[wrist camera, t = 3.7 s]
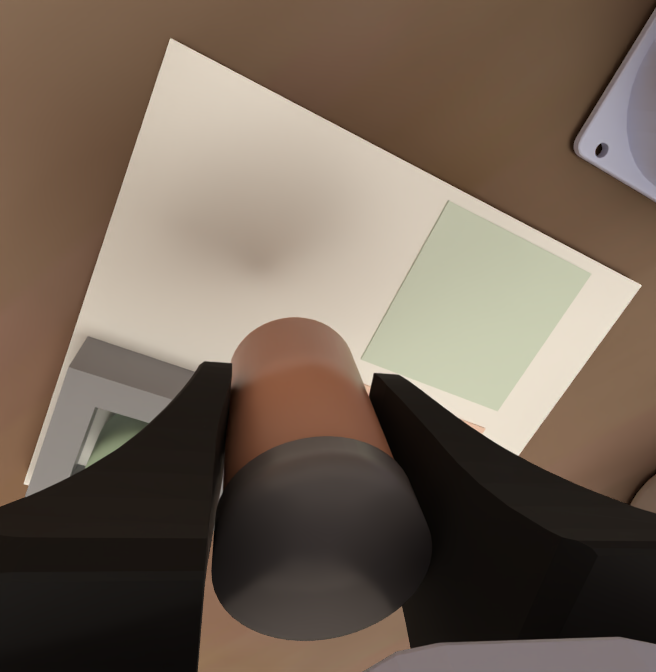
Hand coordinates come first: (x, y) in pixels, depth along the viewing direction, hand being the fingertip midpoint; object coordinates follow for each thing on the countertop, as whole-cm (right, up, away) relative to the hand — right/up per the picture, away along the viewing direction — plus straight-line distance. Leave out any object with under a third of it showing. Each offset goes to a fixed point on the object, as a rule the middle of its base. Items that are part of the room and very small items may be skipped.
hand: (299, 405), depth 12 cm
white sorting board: (+1, 0, +10) cm, 10 cm away
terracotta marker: (0, +1, +1) cm, 2 cm away
